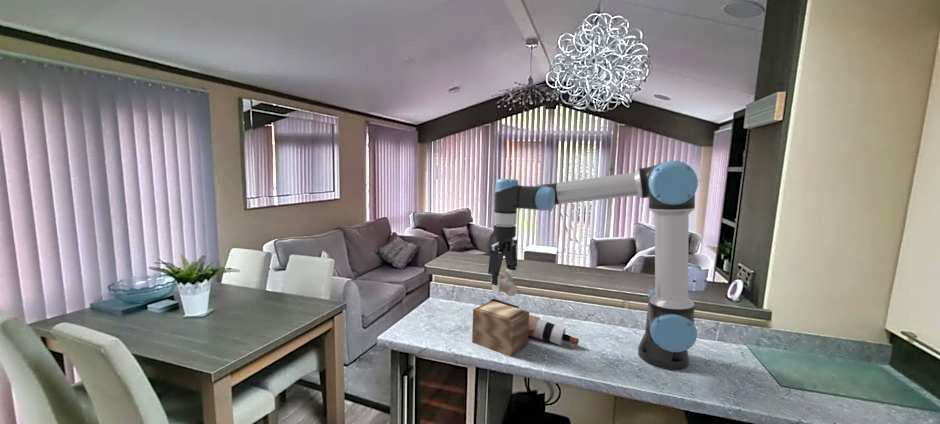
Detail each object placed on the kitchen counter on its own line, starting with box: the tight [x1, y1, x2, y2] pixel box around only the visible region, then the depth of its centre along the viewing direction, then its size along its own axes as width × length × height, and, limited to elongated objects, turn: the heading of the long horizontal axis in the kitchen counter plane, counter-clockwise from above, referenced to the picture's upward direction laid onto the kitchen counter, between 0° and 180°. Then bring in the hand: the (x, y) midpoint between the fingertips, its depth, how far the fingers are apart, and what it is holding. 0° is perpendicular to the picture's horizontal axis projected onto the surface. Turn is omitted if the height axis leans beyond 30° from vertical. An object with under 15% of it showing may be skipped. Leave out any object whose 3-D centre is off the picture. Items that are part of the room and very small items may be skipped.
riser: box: [471, 300, 530, 358], centre depth 135 cm, size 16×11×13 cm
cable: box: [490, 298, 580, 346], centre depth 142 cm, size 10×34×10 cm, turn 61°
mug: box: [490, 270, 522, 297], centre depth 132 cm, size 7×10×10 cm
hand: (502, 290), depth 133 cm, fingers closed on mug, 7 cm apart
